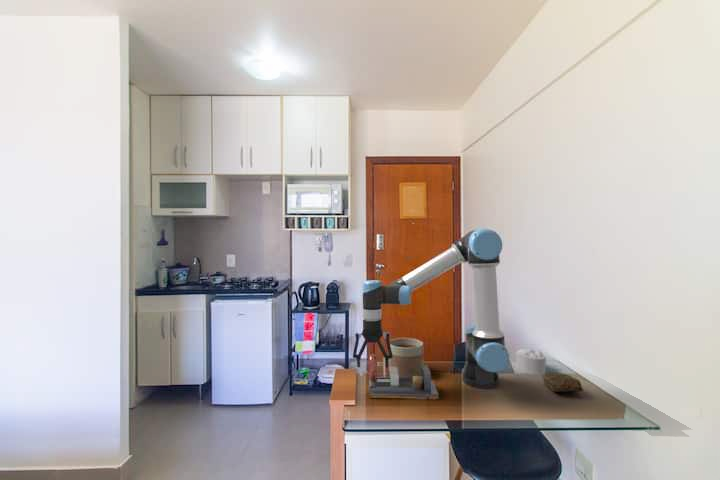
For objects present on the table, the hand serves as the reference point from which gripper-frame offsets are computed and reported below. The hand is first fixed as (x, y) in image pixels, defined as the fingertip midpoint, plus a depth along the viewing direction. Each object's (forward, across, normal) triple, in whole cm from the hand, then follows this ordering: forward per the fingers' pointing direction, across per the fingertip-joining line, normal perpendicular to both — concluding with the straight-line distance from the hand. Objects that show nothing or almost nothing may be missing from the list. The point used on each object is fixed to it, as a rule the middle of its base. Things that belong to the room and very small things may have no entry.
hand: (372, 375), depth 133 cm
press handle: (+4, -4, 0) cm, 6 cm away
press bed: (+6, -12, 0) cm, 14 cm away
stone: (+7, -76, -3) cm, 76 cm away
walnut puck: (+4, -18, 0) cm, 19 cm away
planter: (+7, -15, -20) cm, 26 cm away
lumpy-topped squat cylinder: (+7, -74, -25) cm, 79 cm away
